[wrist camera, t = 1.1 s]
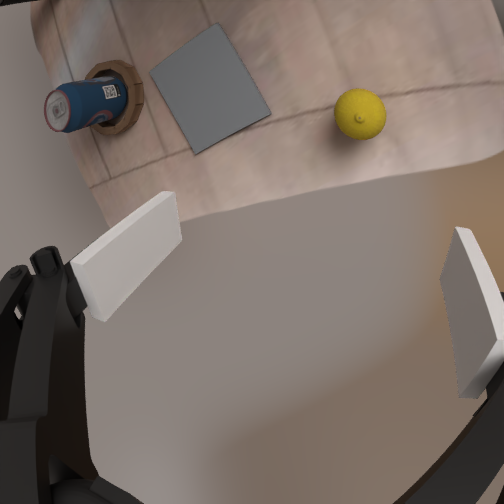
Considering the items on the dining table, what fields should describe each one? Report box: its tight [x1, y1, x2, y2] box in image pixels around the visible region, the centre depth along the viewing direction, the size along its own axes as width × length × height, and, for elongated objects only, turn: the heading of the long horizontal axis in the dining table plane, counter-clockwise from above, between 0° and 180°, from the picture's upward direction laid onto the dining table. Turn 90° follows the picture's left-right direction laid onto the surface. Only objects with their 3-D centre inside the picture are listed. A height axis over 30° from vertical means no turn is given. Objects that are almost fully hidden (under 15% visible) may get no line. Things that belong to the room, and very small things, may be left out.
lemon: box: [334, 89, 386, 140], centre depth 30 cm, size 6×6×8 cm
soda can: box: [44, 76, 128, 133], centre depth 37 cm, size 7×7×12 cm
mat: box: [149, 23, 272, 154], centre depth 37 cm, size 14×12×1 cm
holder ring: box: [85, 60, 144, 135], centre depth 41 cm, size 12×12×2 cm
